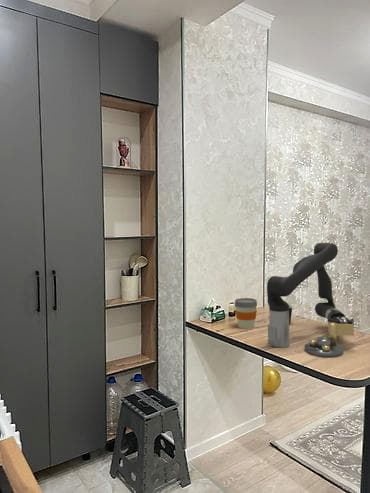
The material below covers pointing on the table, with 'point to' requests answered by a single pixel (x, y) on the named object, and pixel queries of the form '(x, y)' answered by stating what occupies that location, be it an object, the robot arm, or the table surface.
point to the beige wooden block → (339, 331)
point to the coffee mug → (290, 314)
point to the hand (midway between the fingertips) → (347, 327)
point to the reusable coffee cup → (246, 312)
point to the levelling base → (321, 354)
